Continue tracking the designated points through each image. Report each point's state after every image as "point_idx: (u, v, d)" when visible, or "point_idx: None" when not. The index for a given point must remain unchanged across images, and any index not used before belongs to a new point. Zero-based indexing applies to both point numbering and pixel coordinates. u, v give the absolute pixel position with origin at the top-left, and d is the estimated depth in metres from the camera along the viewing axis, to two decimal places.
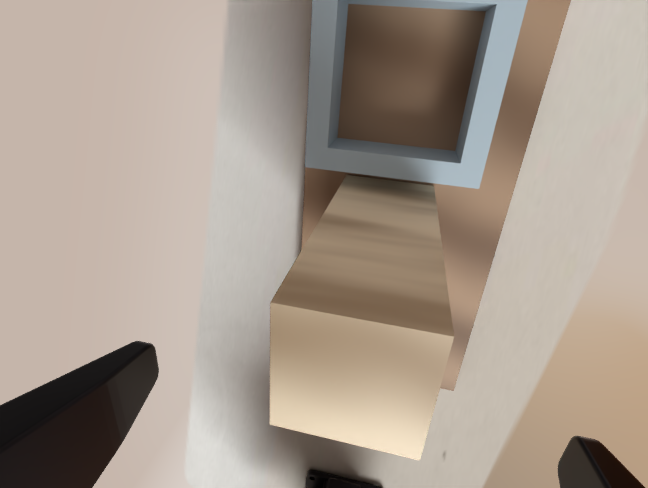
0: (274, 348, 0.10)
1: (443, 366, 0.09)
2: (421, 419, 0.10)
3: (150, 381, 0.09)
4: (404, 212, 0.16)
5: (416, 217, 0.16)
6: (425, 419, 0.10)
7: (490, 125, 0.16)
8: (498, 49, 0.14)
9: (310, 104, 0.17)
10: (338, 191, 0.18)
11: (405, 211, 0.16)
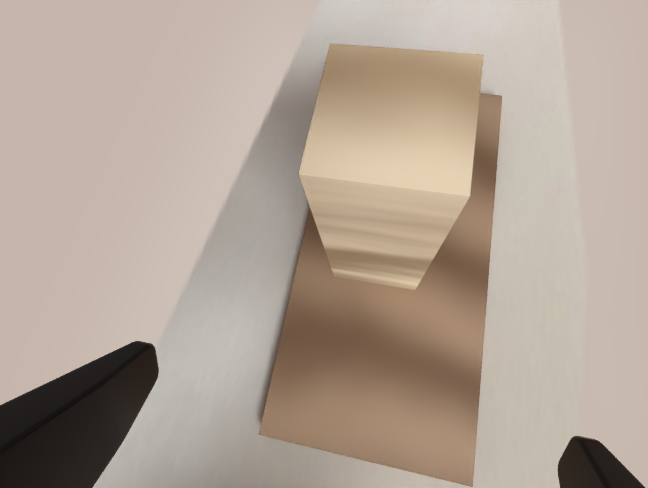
0: (324, 84, 0.11)
1: (478, 81, 0.11)
2: (465, 140, 0.10)
3: (150, 381, 0.09)
4: None
5: None
6: (469, 139, 0.10)
7: None
8: None
9: None
10: None
11: None
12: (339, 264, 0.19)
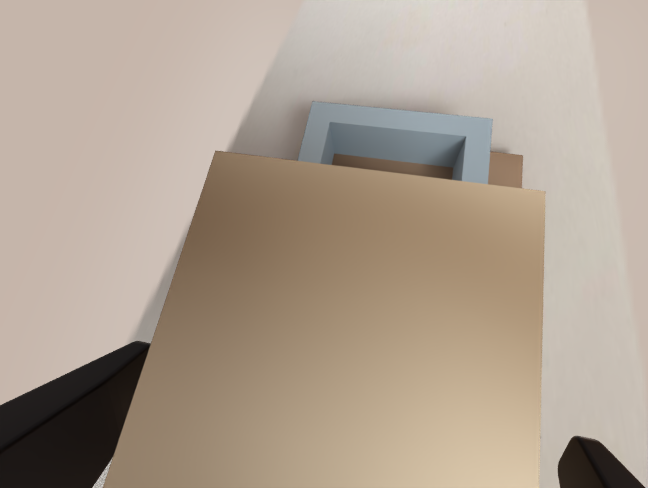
0: (192, 247, 0.05)
1: (539, 260, 0.05)
2: (515, 432, 0.04)
3: None
4: None
5: None
6: (525, 430, 0.04)
7: None
8: (474, 167, 0.16)
9: None
10: None
11: None
12: None
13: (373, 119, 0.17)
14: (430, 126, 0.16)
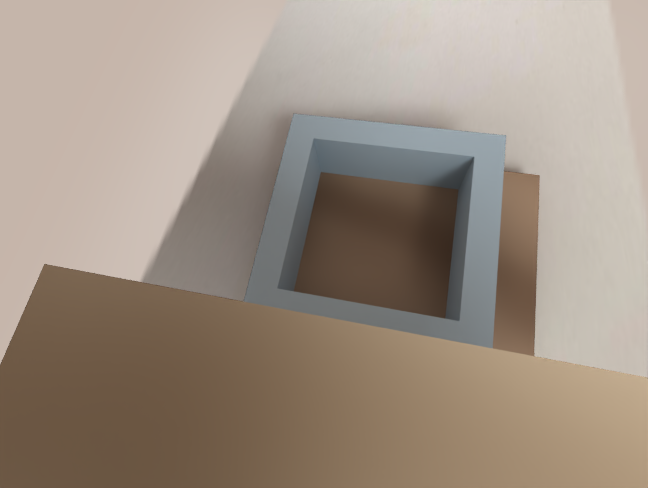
0: None
1: None
2: None
3: None
4: None
5: None
6: None
7: (490, 273, 0.12)
8: (484, 194, 0.13)
9: (265, 234, 0.13)
10: None
11: None
12: None
13: (365, 135, 0.14)
14: (432, 144, 0.14)
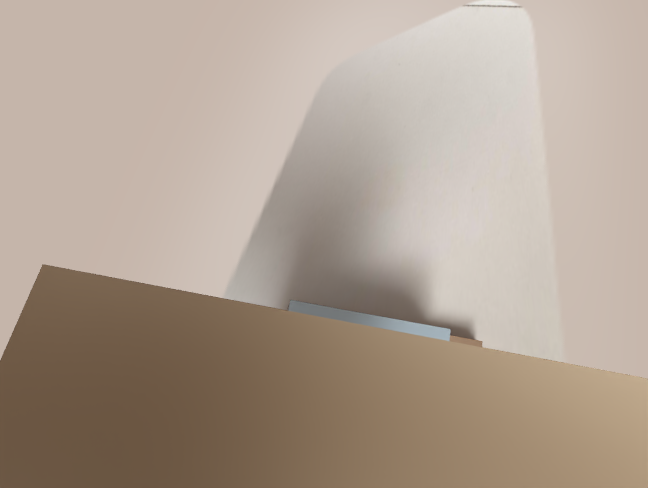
0: None
1: None
2: None
3: None
4: None
5: None
6: None
7: None
8: None
9: None
10: None
11: None
12: None
13: None
14: None
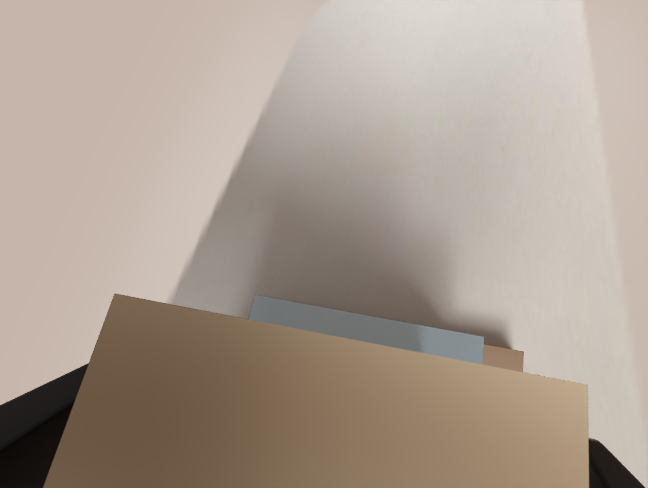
0: (69, 454, 0.04)
1: None
2: None
3: None
4: None
5: None
6: None
7: None
8: None
9: None
10: None
11: None
12: None
13: (331, 327, 0.13)
14: (403, 343, 0.13)
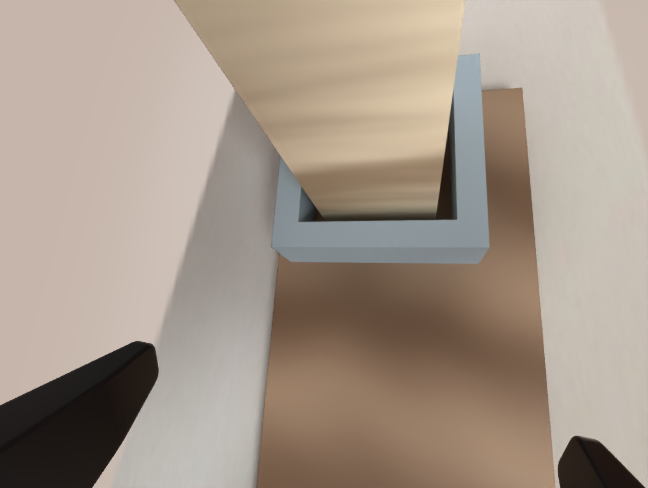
0: None
1: None
2: None
3: (150, 381, 0.09)
4: None
5: None
6: None
7: (480, 175, 0.14)
8: (466, 109, 0.15)
9: (280, 180, 0.15)
10: None
11: None
12: (326, 202, 0.14)
13: None
14: None
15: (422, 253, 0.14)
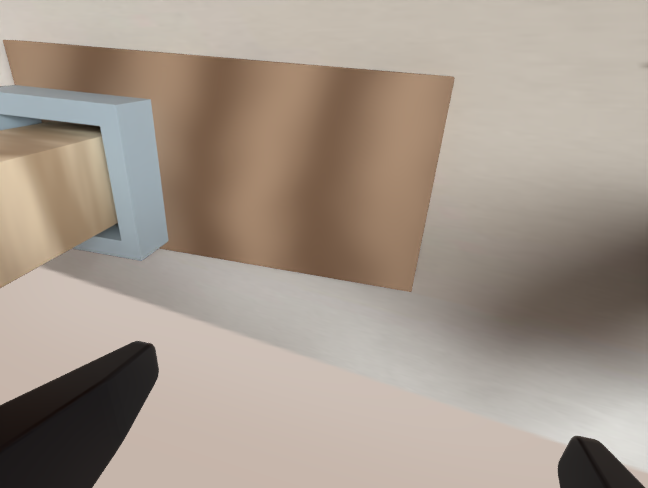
0: None
1: None
2: None
3: (150, 381, 0.09)
4: None
5: None
6: None
7: (64, 103, 0.17)
8: (15, 106, 0.18)
9: (94, 250, 0.21)
10: None
11: None
12: (101, 221, 0.19)
13: None
14: None
15: (136, 150, 0.19)
